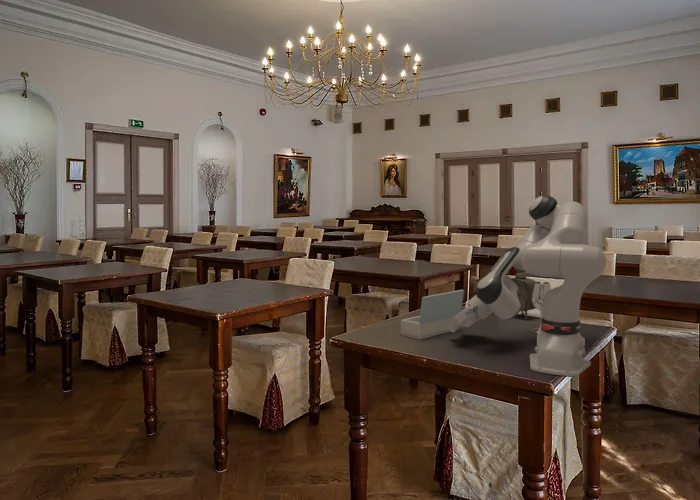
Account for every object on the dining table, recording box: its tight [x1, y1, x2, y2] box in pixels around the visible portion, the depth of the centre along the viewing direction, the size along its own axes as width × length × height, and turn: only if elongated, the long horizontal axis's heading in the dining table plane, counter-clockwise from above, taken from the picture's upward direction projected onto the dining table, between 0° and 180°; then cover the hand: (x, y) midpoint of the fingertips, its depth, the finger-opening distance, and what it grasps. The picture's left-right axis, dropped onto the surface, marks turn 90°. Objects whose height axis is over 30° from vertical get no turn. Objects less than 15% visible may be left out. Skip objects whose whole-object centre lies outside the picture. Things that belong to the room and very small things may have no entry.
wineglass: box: [531, 281, 552, 334], centre depth 215 cm, size 8×8×20 cm
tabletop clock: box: [510, 267, 537, 320], centre depth 242 cm, size 14×9×25 cm, turn 36°
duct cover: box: [419, 289, 465, 324], centre depth 211 cm, size 11×25×1 cm
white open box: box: [400, 315, 455, 340], centre depth 217 cm, size 10×24×6 cm, turn 131°
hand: (451, 331), depth 203 cm, fingers closed
